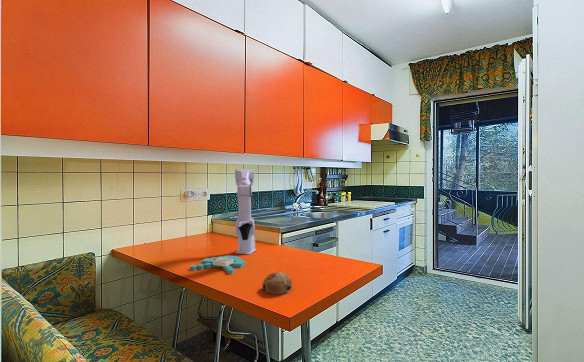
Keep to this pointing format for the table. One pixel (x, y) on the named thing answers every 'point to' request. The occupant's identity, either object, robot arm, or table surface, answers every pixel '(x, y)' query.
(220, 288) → the table surface
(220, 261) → the tile
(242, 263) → the alien figure
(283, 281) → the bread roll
